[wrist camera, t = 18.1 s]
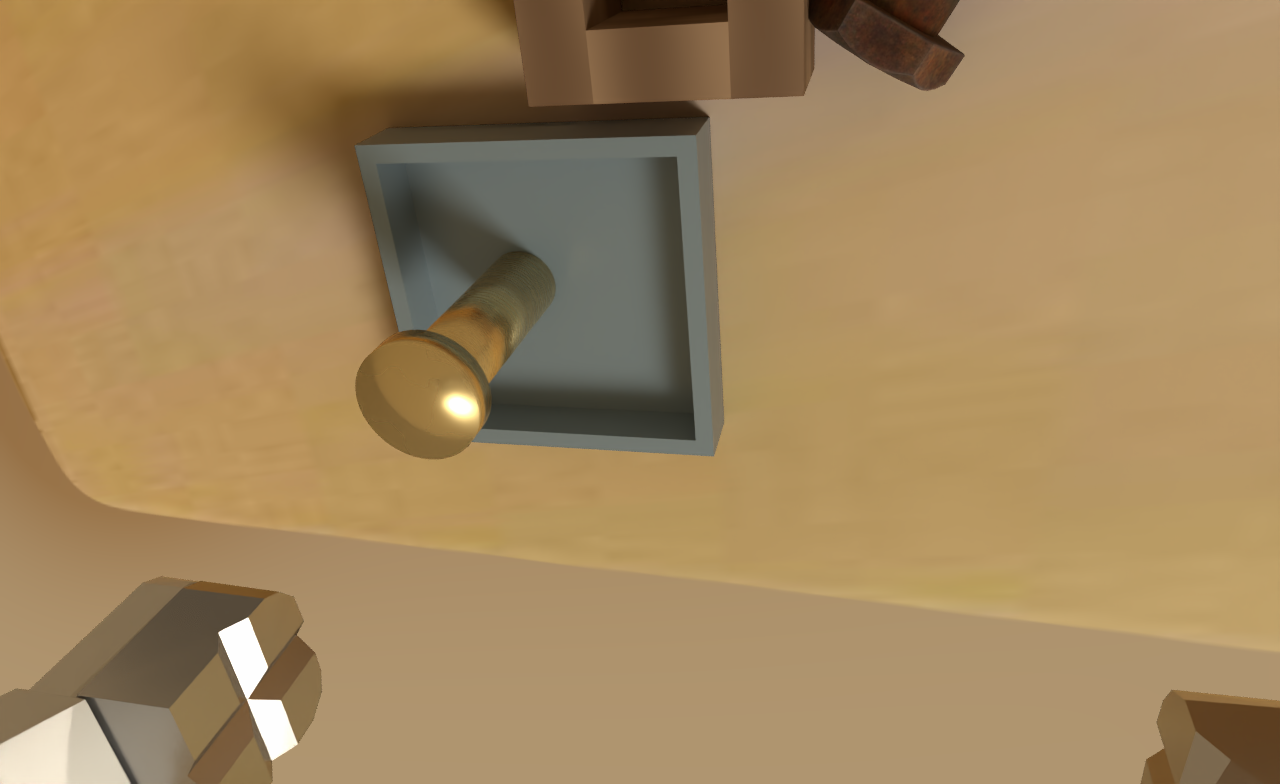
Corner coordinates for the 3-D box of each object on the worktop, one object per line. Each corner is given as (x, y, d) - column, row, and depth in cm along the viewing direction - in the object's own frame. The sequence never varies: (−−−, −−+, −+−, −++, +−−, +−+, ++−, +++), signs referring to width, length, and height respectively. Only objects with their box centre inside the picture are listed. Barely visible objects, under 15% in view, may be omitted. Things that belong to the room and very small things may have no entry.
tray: (709, 116, 37) (696, 135, 34) (724, 422, 44) (714, 456, 41) (387, 128, 40) (354, 145, 38) (449, 408, 47) (424, 439, 45)
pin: (565, 233, 40) (465, 346, 31) (578, 331, 42) (489, 463, 33) (466, 234, 41) (341, 342, 32) (484, 328, 44) (372, 455, 34)
